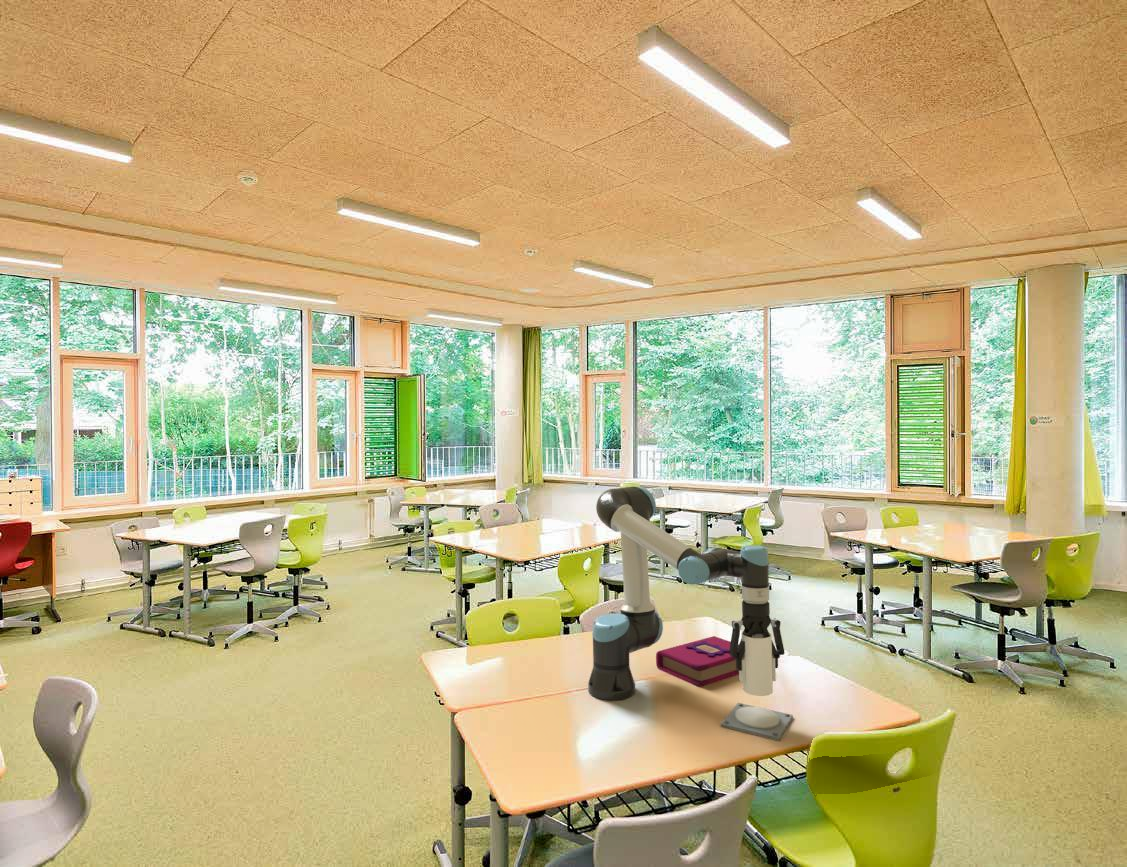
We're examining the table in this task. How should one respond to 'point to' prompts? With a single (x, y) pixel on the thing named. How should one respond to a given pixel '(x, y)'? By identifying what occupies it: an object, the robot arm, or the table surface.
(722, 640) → the book
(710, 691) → the table surface
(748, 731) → the flange board
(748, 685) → the cup
